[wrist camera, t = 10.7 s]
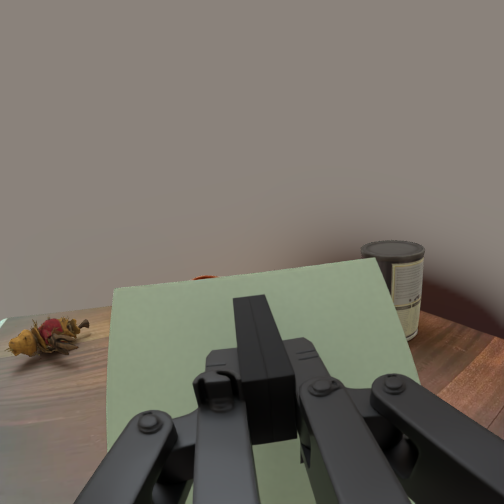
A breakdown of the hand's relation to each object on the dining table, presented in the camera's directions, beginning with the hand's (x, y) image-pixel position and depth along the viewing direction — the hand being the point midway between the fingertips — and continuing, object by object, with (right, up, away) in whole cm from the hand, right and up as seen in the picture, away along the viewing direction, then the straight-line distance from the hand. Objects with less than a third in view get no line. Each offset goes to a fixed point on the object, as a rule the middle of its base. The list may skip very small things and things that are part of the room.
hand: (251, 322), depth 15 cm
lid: (+1, -4, -1) cm, 4 cm away
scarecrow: (-38, -16, +34) cm, 53 cm away
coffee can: (+23, -10, +33) cm, 42 cm away
